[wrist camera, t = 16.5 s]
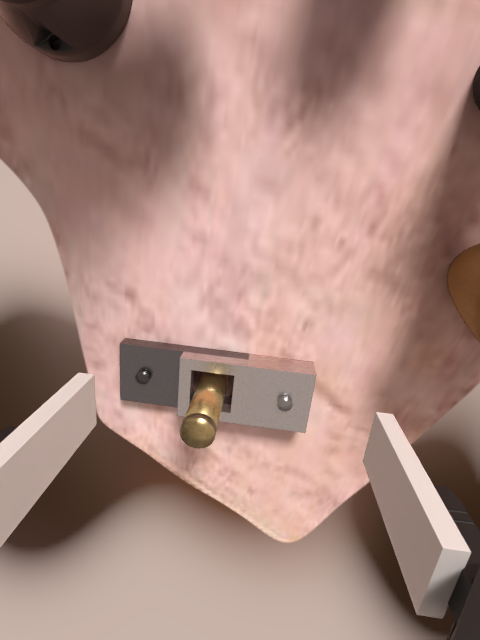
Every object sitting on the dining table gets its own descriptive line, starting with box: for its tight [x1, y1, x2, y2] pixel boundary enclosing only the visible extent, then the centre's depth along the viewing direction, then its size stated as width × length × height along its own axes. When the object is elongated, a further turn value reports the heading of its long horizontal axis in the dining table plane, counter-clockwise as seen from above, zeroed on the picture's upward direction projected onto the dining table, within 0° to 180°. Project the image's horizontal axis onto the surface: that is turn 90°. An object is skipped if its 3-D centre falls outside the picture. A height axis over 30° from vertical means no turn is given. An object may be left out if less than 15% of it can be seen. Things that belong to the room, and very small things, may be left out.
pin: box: [180, 372, 229, 448], centre depth 46 cm, size 4×4×13 cm
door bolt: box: [120, 338, 316, 433], centre depth 49 cm, size 9×27×5 cm, turn 84°
